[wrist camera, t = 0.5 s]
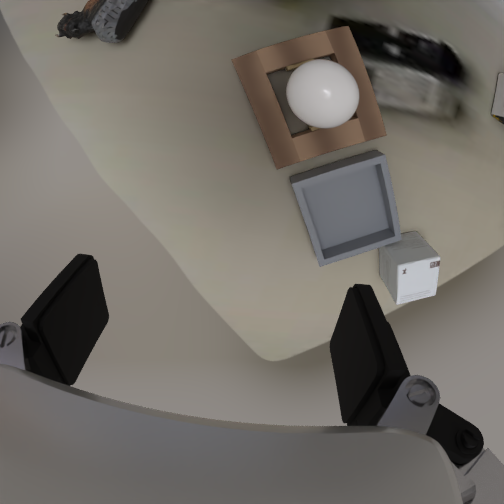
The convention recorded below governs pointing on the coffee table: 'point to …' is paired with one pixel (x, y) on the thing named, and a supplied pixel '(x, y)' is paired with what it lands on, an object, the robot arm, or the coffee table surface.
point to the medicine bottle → (499, 99)
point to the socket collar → (315, 139)
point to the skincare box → (409, 268)
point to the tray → (348, 206)
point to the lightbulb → (322, 93)
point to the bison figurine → (102, 19)
